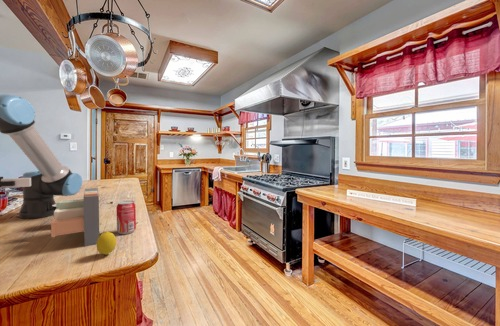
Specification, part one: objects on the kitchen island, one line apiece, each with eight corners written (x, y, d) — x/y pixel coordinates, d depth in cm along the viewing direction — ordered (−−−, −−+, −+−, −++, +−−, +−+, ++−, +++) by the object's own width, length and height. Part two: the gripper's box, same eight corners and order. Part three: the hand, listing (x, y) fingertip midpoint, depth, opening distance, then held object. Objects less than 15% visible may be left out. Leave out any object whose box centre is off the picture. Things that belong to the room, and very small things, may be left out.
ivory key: (55, 222, 86) (55, 209, 86) (96, 217, 93) (96, 205, 93) (54, 225, 82) (53, 212, 82) (96, 220, 90) (96, 207, 89)
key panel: (86, 229, 98) (85, 187, 97) (98, 227, 101) (97, 186, 100) (84, 246, 82) (83, 194, 81) (99, 243, 84) (98, 193, 83)
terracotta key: (53, 233, 81) (53, 219, 80) (96, 226, 88) (96, 214, 88) (51, 237, 77) (51, 222, 76) (96, 230, 84) (96, 217, 84)
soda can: (139, 230, 99) (139, 201, 98) (125, 236, 92) (125, 204, 91) (127, 228, 101) (126, 199, 100) (112, 233, 94) (112, 203, 93)
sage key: (58, 212, 92) (57, 200, 92) (96, 208, 99) (95, 197, 99) (56, 215, 88) (56, 202, 88) (96, 211, 95) (96, 199, 95)
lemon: (102, 251, 78) (102, 228, 77) (119, 251, 78) (119, 228, 78) (92, 259, 72) (92, 234, 72) (111, 258, 73) (110, 234, 72)
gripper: (-73, 196, 67) (35, 190, 81) (-107, 206, 56) (25, 196, 69) (-75, 171, 67) (34, 169, 80) (-109, 176, 55) (24, 172, 69)
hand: (30, 182), depth 75 cm, fingers closed
